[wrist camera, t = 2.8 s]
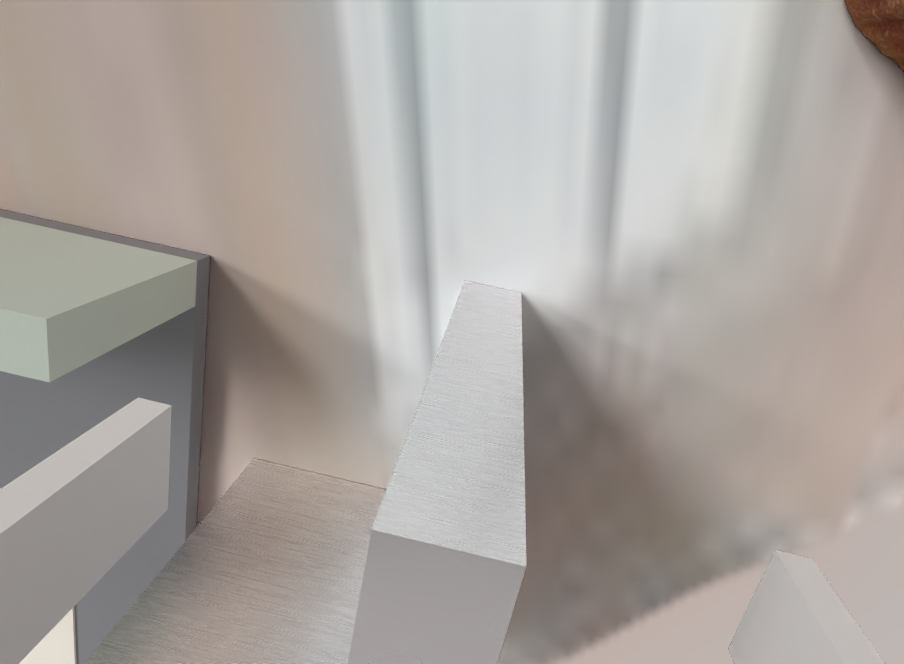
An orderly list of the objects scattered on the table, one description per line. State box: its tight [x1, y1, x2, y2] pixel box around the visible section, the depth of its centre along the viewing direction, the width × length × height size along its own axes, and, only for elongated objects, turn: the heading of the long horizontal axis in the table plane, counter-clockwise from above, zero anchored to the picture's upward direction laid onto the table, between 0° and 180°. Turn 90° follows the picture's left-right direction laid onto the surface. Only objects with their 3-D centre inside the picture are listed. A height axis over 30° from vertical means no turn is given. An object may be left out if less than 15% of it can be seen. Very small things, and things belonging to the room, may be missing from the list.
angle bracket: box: [84, 281, 526, 664], centre depth 14 cm, size 10×8×12 cm
